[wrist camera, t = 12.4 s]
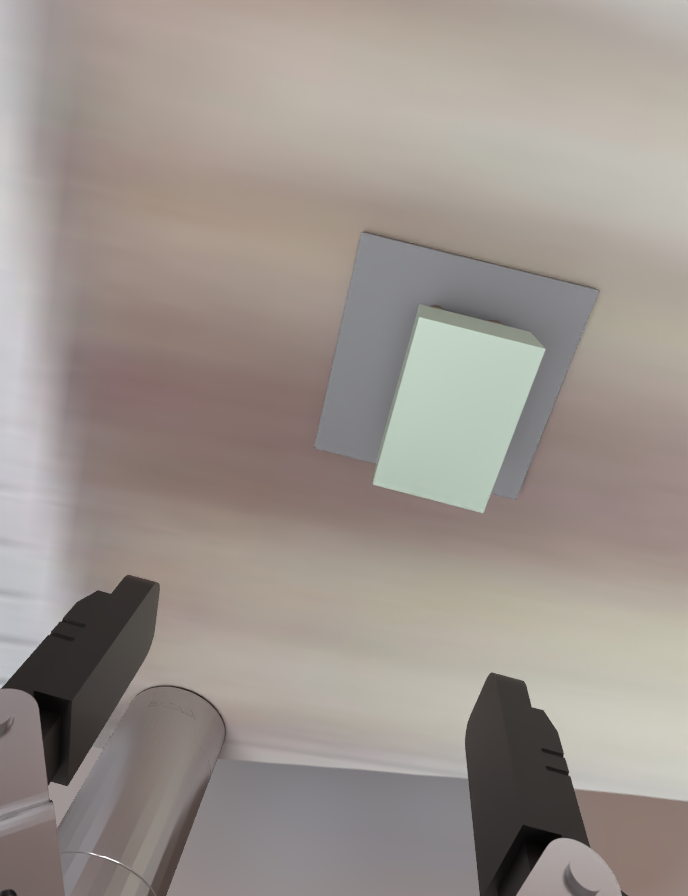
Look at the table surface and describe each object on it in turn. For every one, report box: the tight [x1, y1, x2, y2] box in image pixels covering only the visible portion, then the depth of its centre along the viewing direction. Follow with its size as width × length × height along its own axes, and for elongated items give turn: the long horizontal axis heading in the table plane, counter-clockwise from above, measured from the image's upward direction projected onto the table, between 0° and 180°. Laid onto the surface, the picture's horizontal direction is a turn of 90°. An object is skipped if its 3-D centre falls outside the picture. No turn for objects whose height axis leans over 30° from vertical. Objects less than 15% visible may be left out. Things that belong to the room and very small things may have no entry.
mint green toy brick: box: [373, 304, 546, 513], centre depth 32 cm, size 6×9×8 cm, turn 167°
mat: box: [314, 232, 599, 500], centre depth 36 cm, size 14×14×1 cm
